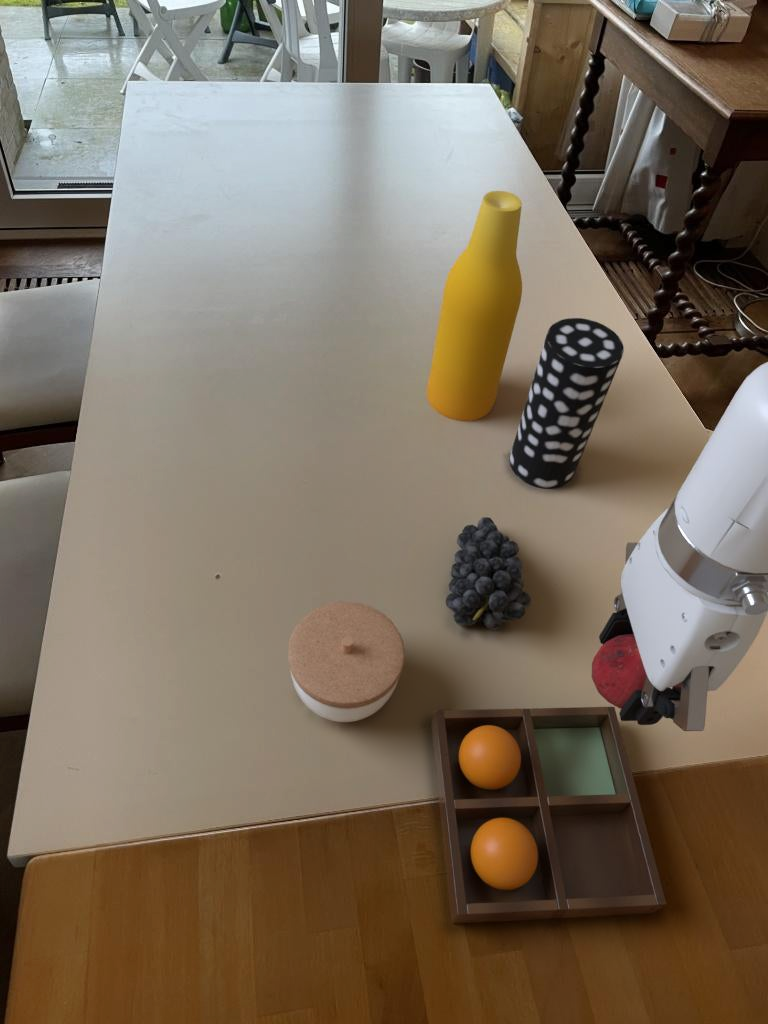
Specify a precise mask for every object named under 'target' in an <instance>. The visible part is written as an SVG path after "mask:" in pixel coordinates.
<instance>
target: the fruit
mask: <svg viewBox="0 0 768 1024" xmlns="http://www.w3.org/2000/svg"><path fill="white" fill-rule="evenodd" d="M456 544H457V545H458V547H459V548H460V549H459V550H457V551H456V553H455V554H454V562H455V563H454V564H452V566H451V570H450V576H451V581H450V582H449V583H448V588H449V591H450V592H451V593H449V594H448V595H447V596H446V598H445V605H446V607H447V608H448V609H450V610H451V611H452V612H453V619H454V622H455V623H456V624H457V625H458V626H461V627H469V626H470V627H471V626H473V625H474V624H476V623H478V622H480V623H481V622H483V624H484V626H485V627H486V628H487V629H489V630H491V631H496V630H499V629H500V628H502V626H503V624H504V623H509V622H511V621H513V620H514V619H515V620H520V619H521V618H523V616H525V614H526V608H527V607H529V606H530V604H531V602H532V597H531V596H530V594H529V592H526V591H524V587H525V582H524V578H522V577H523V573H522V571H523V570H522V569H523V562H522V560H521V558H520V557H519V556H517V555H518V554H519V552H520V546H519V545H518V543H517V542H515V541H514V540H511V539H510V537H509V536H507V535H505V534H503V533H502V532H501V531H499V529H498V527H497V524H495V522H494V521H493V519H492V517H488V516H485V517H481V518H480V519H479V520H478V521H477V526H476V525H474V524H467V525H466V526H464V528H463V529H462V532H461V533H460V534H458V536H457V538H456Z"/></svg>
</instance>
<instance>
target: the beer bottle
mask: <svg viewBox="0 0 768 1024" xmlns="http://www.w3.org/2000/svg"><path fill="white" fill-rule="evenodd" d="M522 204H523V203H522V200H521V199H520V197H518V196H517V195H515V194H514V193H511V192H509V191H505V190H492V191H489V192H487V193H485V194H484V196H483V198H482V201H481V204H480V206H479V210H478V213H477V216H476V220H475V223H474V225H473V230H472V232H471V236H470V239H469V241H468V243H467V246H466V247H465V249H464V250H463V251H462V253H461V254H460V255H459V256H458V258H457V259H456V260H455V262H454V263H453V265H452V266H451V268H450V271H449V272H448V275H447V278H446V281H445V284H444V288H443V295H442V300H441V308H440V313H439V319H438V325H437V331H436V336H435V341H434V349H433V353H432V360H431V366H430V371H429V376H428V382H427V386H426V397H427V401H428V404H429V405H430V406H431V408H432V409H433V410H434V411H436V413H438V414H439V415H441V416H443V417H445V418H448V419H450V420H454V421H460V422H471V421H476V420H479V419H482V418H484V417H485V416H487V415H489V413H490V412H491V410H492V409H493V407H494V405H495V403H496V399H497V395H498V389H499V385H500V382H501V379H502V378H501V377H502V374H503V370H504V366H505V362H506V358H507V355H508V351H509V347H510V344H511V343H510V342H511V339H512V336H513V331H514V327H515V324H516V320H517V317H518V312H519V310H520V306H521V302H522V294H523V280H522V273H521V269H520V264H519V262H518V257H517V249H518V239H519V230H520V223H521V217H522V215H521V213H522Z"/></svg>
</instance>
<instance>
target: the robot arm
mask: <svg viewBox="0 0 768 1024" xmlns="http://www.w3.org/2000/svg"><path fill="white" fill-rule="evenodd" d="M620 587H621V588H620V589H621V593H620V594H619V595H617V596H615V598H614V599H613V600H614V601H613V606H614V610H615V611H616V612H612V614H611V615H610V617H609V618H608V621H607V623H605V626H604V627H603V628H602V631H601V632H600V634H599V635H598V638H599V643H600V644H602V645H603V644H604V643H606V642H607V641H609V640H611V639H613V638H614V637H617V636H619V635H627V634H634V636H635V639H636V643H637V646H638V649H639V653H640V656H641V659H642V662H643V665H644V668H645V671H646V674H647V676H646V680H645V683H644V687H643V689H639V690H635V691H634V692H633V694H632V695H631V696H630V698H629V699H628V701H627V702H626V703H625V705H624V706H623V707H622V709H620V711H619V713H618V715H619V719H620V721H622V722H637V725H639V726H651V725H655V724H657V723H659V722H660V721H661V719H662V718H665V719H671V720H672V723H673V724H675V725H676V726H677V727H678V728H679V729H681V731H683V732H703V731H705V726H706V715H707V702H708V692H714V691H717V690H718V689H719V688H720V687H722V685H723V684H725V682H726V681H727V680H728V679H729V677H730V676H731V675H732V674H733V672H734V671H735V670H736V668H737V667H738V666H739V664H740V663H741V662H742V660H743V659H744V658H745V656H746V654H747V653H748V651H749V650H750V648H751V647H752V645H753V644H754V642H755V639H756V638H757V636H758V634H759V633H760V630H761V628H762V626H763V625H764V621H765V620H766V617H767V614H768V361H767V362H764V363H763V364H761V365H759V366H758V367H756V368H755V369H754V370H753V371H752V372H751V373H750V374H748V375H747V376H746V377H745V379H744V380H743V382H742V383H741V385H740V386H739V388H738V389H737V391H736V392H735V393H734V396H733V397H732V399H731V401H730V402H729V404H728V406H727V408H726V409H725V411H724V413H723V414H722V416H721V417H720V420H719V421H718V423H717V425H716V426H715V429H714V430H713V432H712V433H711V436H709V439H708V440H707V442H706V444H705V446H704V448H703V449H702V450H701V453H700V455H699V456H698V457H697V459H696V461H695V462H694V465H693V467H692V468H691V470H690V471H689V473H688V475H687V477H686V478H685V480H684V482H683V483H682V484H681V486H680V488H679V490H678V492H677V494H676V495H675V497H674V498H673V500H672V502H671V504H670V506H669V507H668V508H667V509H665V511H663V512H662V513H661V514H660V515H659V516H658V518H656V519H655V521H654V522H653V523H652V524H651V525H650V526H649V528H647V530H646V531H645V532H644V534H643V535H642V537H641V538H640V540H639V541H638V542H627V543H626V546H625V565H624V566H623V570H622V573H621V575H620Z"/></svg>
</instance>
